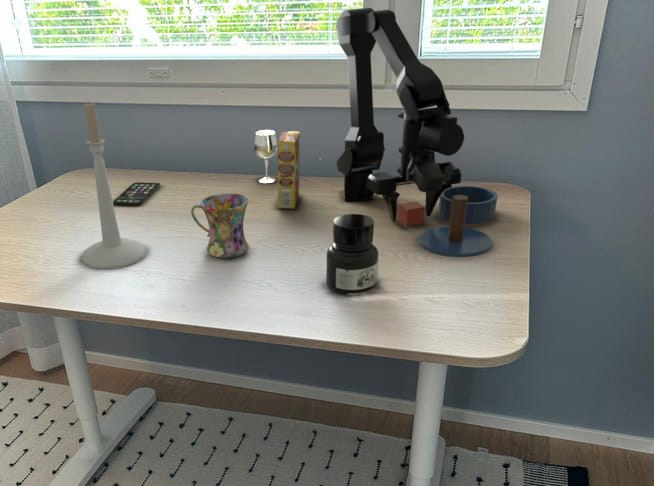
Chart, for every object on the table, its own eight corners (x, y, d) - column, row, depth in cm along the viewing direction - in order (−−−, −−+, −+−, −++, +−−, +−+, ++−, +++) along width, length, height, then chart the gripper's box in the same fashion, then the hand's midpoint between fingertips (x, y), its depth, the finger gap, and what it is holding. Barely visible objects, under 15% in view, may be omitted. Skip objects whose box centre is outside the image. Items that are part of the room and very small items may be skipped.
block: (406, 228, 143) (407, 209, 141) (397, 221, 146) (398, 203, 144) (423, 225, 144) (425, 207, 142) (414, 219, 147) (416, 201, 145)
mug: (257, 245, 139) (255, 195, 134) (240, 264, 132) (237, 211, 127) (204, 239, 144) (200, 190, 138) (185, 257, 136) (179, 206, 131)
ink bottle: (340, 301, 117) (342, 235, 111) (315, 281, 124) (315, 218, 118) (388, 288, 120) (392, 223, 114) (361, 269, 127) (364, 207, 121)
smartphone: (111, 202, 165) (134, 182, 177) (112, 205, 165) (134, 184, 177) (140, 203, 163) (161, 182, 175) (140, 206, 164) (161, 185, 176)
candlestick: (147, 264, 135) (125, 105, 119) (81, 272, 133) (50, 112, 117) (144, 240, 145) (123, 91, 129) (83, 247, 144) (55, 97, 128)
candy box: (296, 209, 156) (295, 141, 148) (277, 209, 157) (275, 141, 149) (300, 196, 163) (300, 130, 155) (282, 196, 164) (281, 131, 156)
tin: (443, 227, 142) (445, 204, 139) (434, 208, 152) (436, 186, 149) (499, 226, 141) (503, 203, 138) (487, 207, 151) (490, 184, 148)
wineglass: (279, 176, 177) (277, 129, 171) (277, 183, 172) (276, 135, 166) (256, 177, 178) (254, 130, 171) (255, 184, 173) (252, 136, 167)
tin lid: (423, 260, 129) (428, 211, 124) (414, 232, 141) (418, 186, 136) (499, 259, 128) (507, 209, 123) (483, 231, 139) (489, 184, 134)
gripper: (392, 160, 128) (387, 239, 136) (481, 148, 131) (471, 225, 140) (367, 146, 137) (363, 220, 145) (451, 134, 141) (443, 207, 149)
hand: (410, 218), depth 144 cm, fingers open, 8 cm apart
